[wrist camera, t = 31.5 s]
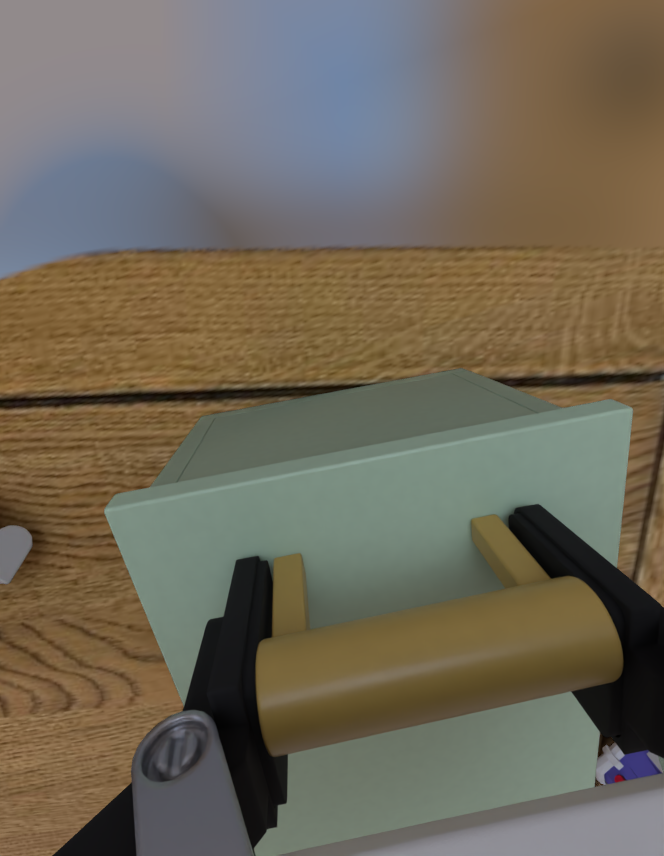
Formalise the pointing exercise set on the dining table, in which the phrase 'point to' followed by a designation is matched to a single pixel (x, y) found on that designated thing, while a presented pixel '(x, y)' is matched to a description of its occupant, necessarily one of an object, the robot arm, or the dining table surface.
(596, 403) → the lid
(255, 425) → the chest
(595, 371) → the dining table surface
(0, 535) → the toy
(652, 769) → the toy car
